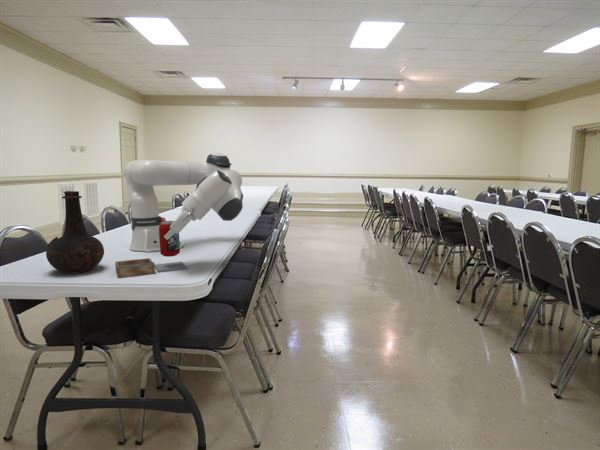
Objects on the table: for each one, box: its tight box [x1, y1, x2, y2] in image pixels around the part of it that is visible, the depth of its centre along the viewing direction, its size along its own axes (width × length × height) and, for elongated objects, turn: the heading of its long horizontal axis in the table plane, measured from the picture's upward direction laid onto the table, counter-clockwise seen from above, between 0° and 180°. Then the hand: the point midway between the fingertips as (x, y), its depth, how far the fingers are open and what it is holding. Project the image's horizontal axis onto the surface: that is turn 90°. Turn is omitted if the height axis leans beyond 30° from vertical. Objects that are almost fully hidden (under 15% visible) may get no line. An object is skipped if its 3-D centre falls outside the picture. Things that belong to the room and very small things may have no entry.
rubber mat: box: [154, 261, 189, 273], centre depth 146 cm, size 10×10×1 cm
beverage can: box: [159, 220, 181, 258], centre depth 144 cm, size 7×7×12 cm
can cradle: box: [114, 257, 156, 278], centre depth 140 cm, size 12×12×4 cm
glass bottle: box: [45, 190, 105, 274], centre depth 141 cm, size 18×18×28 cm
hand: (167, 236), depth 144 cm, fingers closed on beverage can, 7 cm apart
